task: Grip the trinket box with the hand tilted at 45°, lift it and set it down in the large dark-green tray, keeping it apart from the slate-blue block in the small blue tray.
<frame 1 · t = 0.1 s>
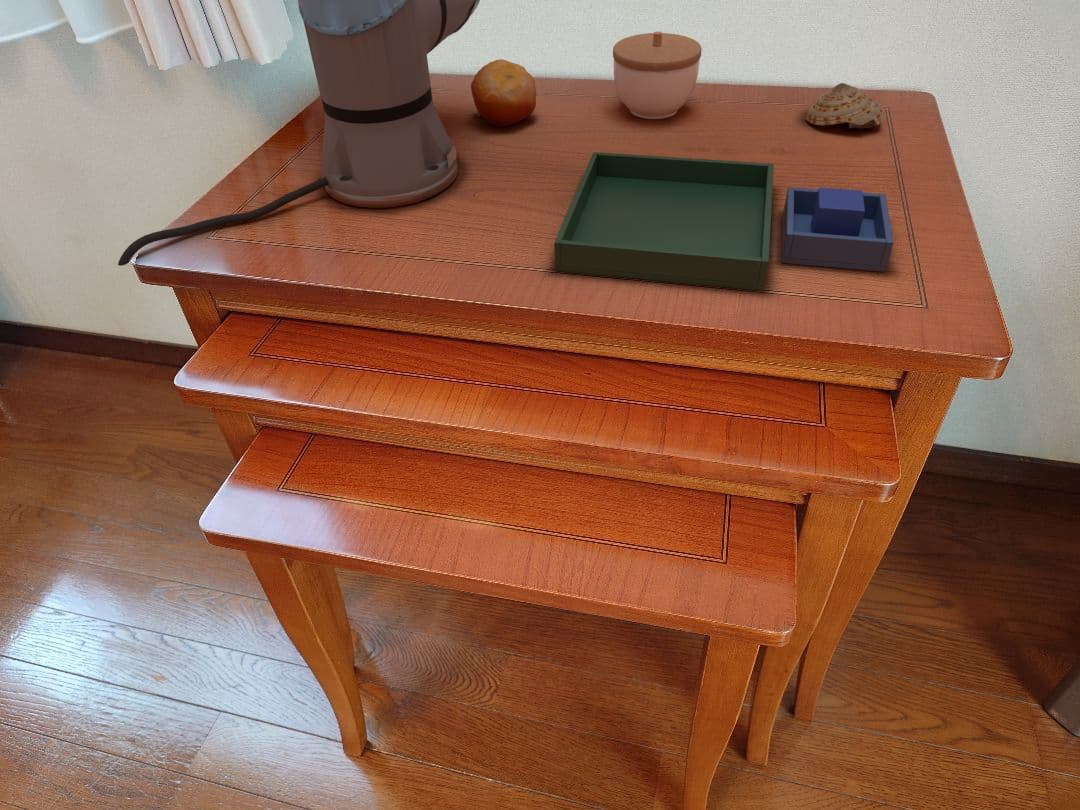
blue block: (832, 236, 77), point 1 cm above the table, touching blue tray
blue tray: (831, 242, 78), on the table
green tray: (668, 228, 81), on the table
trinket box: (653, 111, 103), on the table
fruit: (505, 122, 102), on the table
seashell: (843, 123, 98), on the table
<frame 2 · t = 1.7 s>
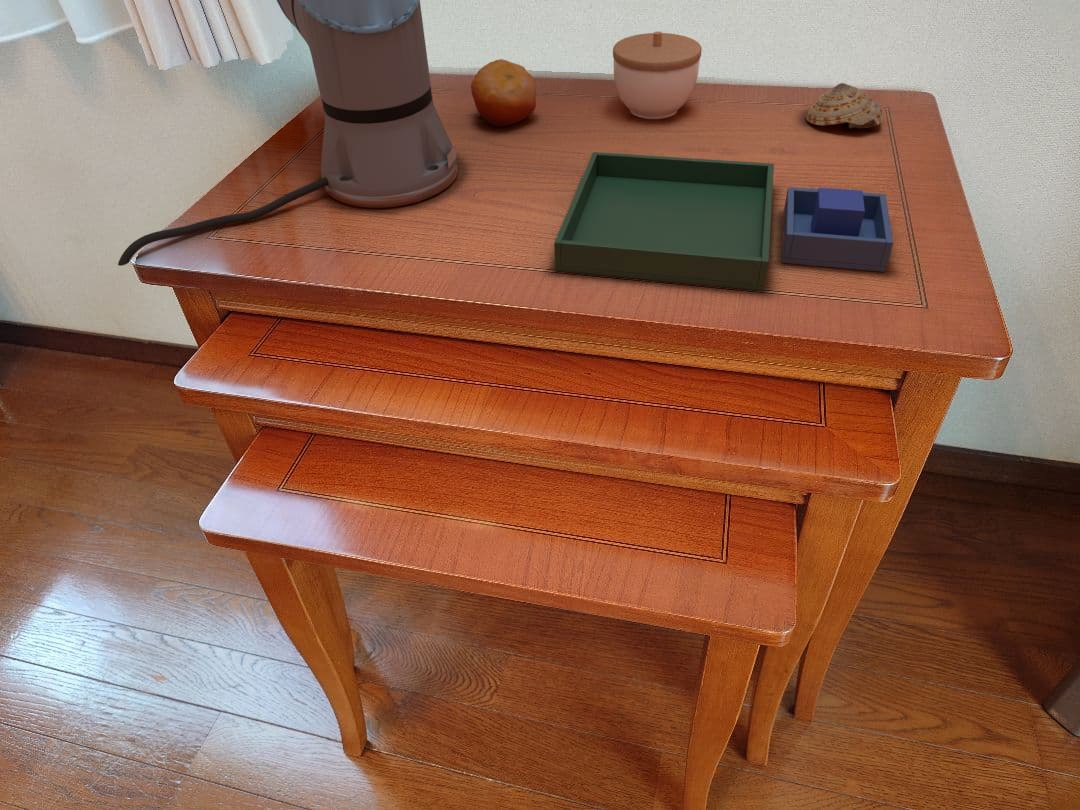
nothing on the table moved.
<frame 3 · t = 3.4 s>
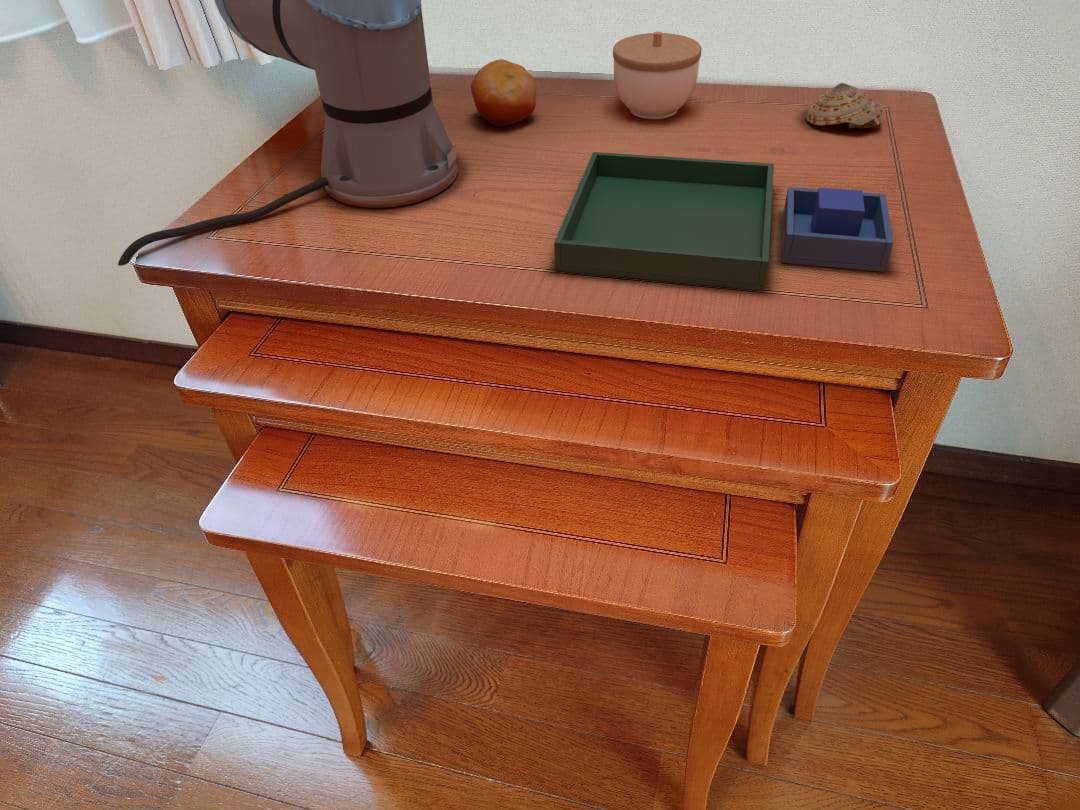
nothing on the table moved.
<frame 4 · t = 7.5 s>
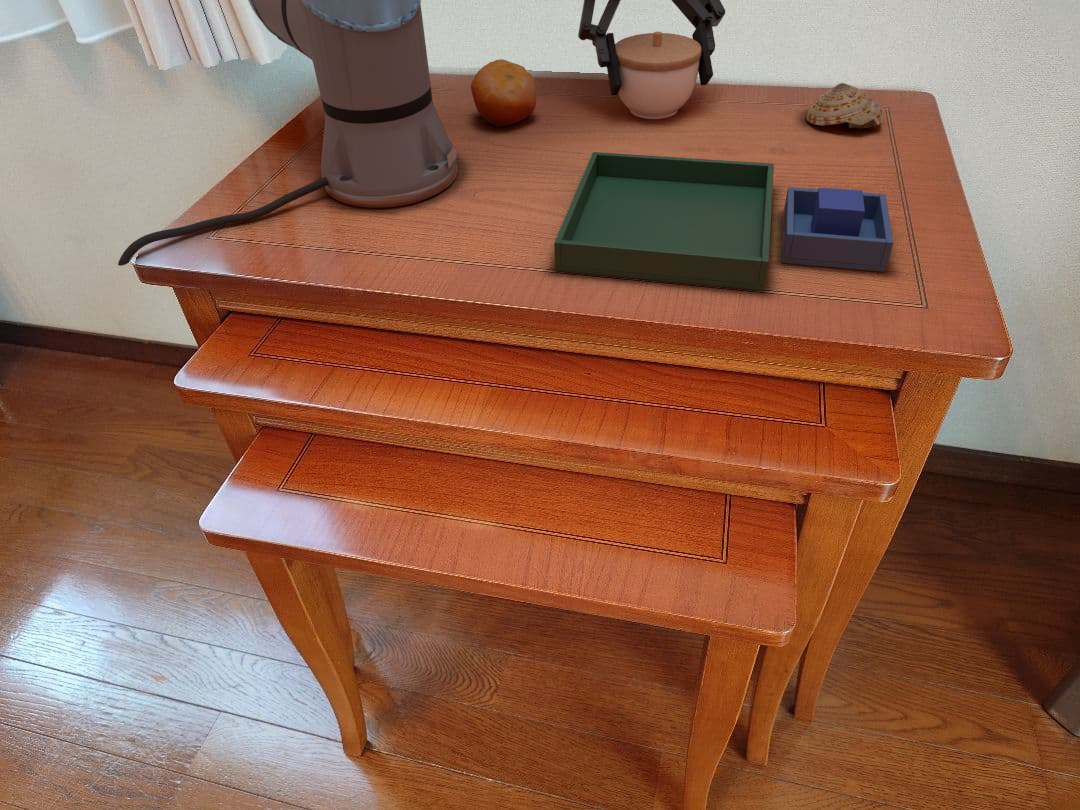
hand: (662, 85, 98), 4 cm above the table, tool tilted 45°, fingers closed on trinket box, 11 cm apart
trinket box: (653, 111, 103), on the table, touching gripper
everything else where it was.
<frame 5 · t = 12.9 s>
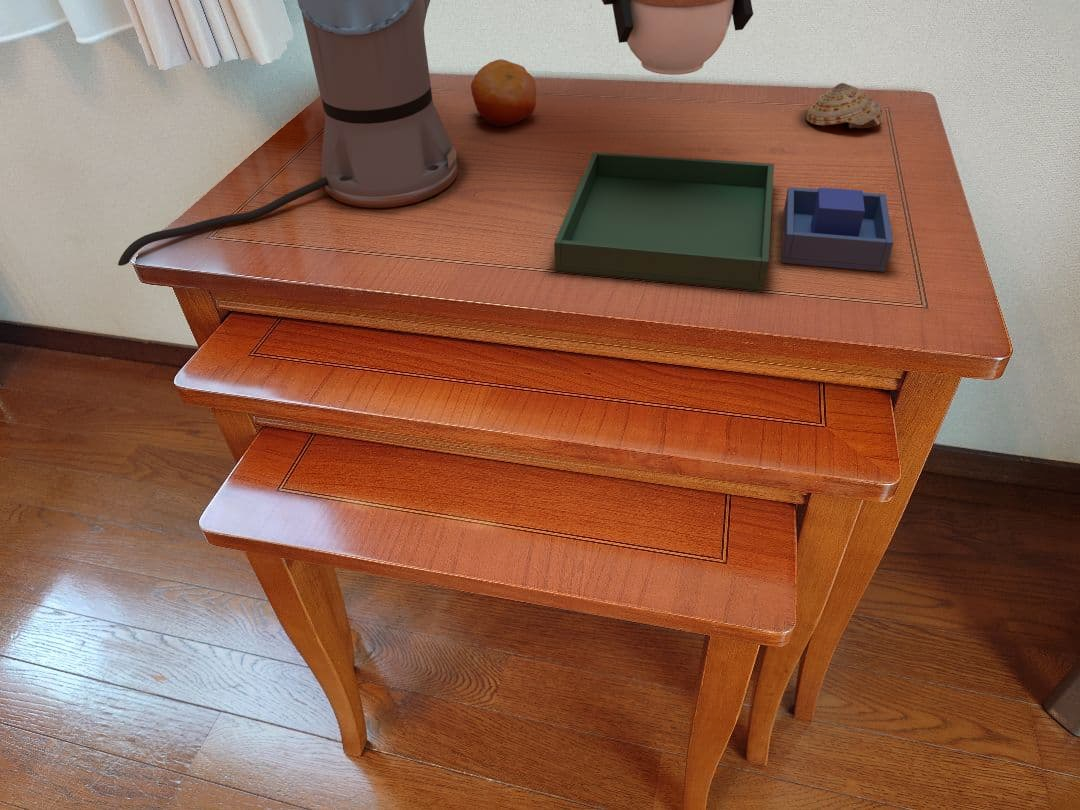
hand: (685, 28, 74), 17 cm above the table, tool tilted 45°, fingers closed on trinket box, 11 cm apart
trinket box: (672, 65, 79), point 13 cm above the table, touching gripper
everything else where it was.
when the fingers open (5 cm above the table, at t = 18.2 s): trinket box stays where it is, resting on green tray.
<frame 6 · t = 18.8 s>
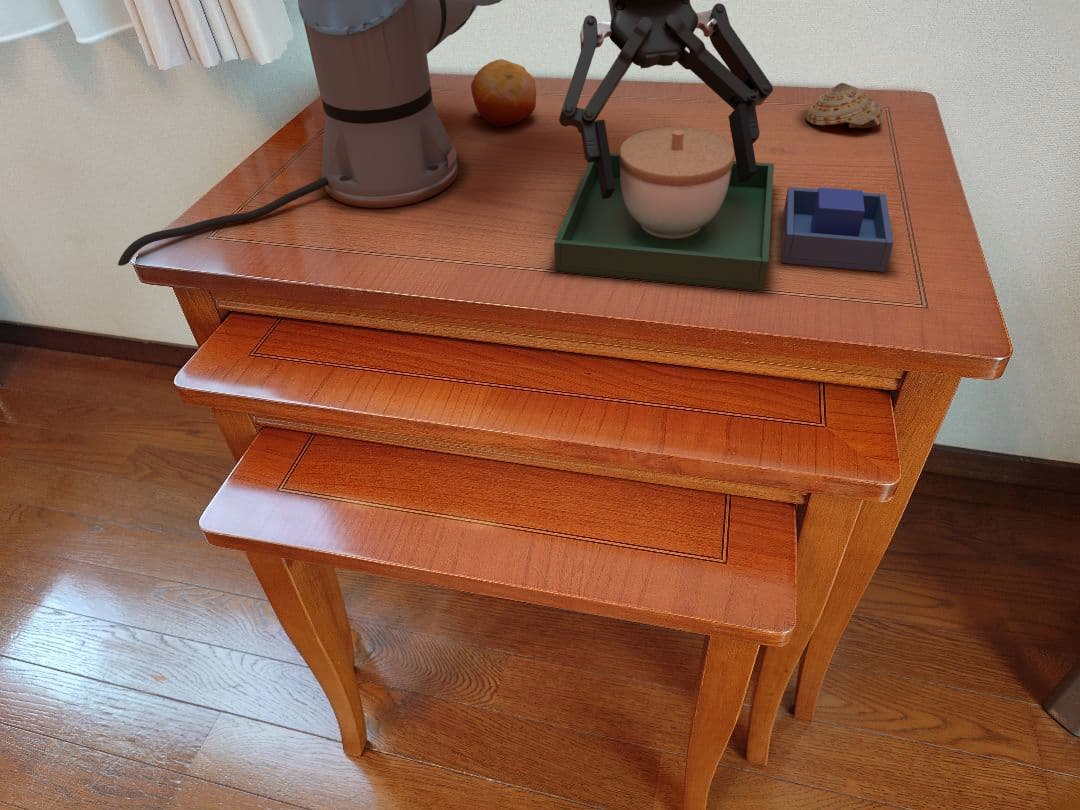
hand: (679, 185, 75), 6 cm above the table, tool tilted 45°, fingers open, 13 cm apart
trinket box: (670, 224, 80), resting on green tray
everything else where it was.
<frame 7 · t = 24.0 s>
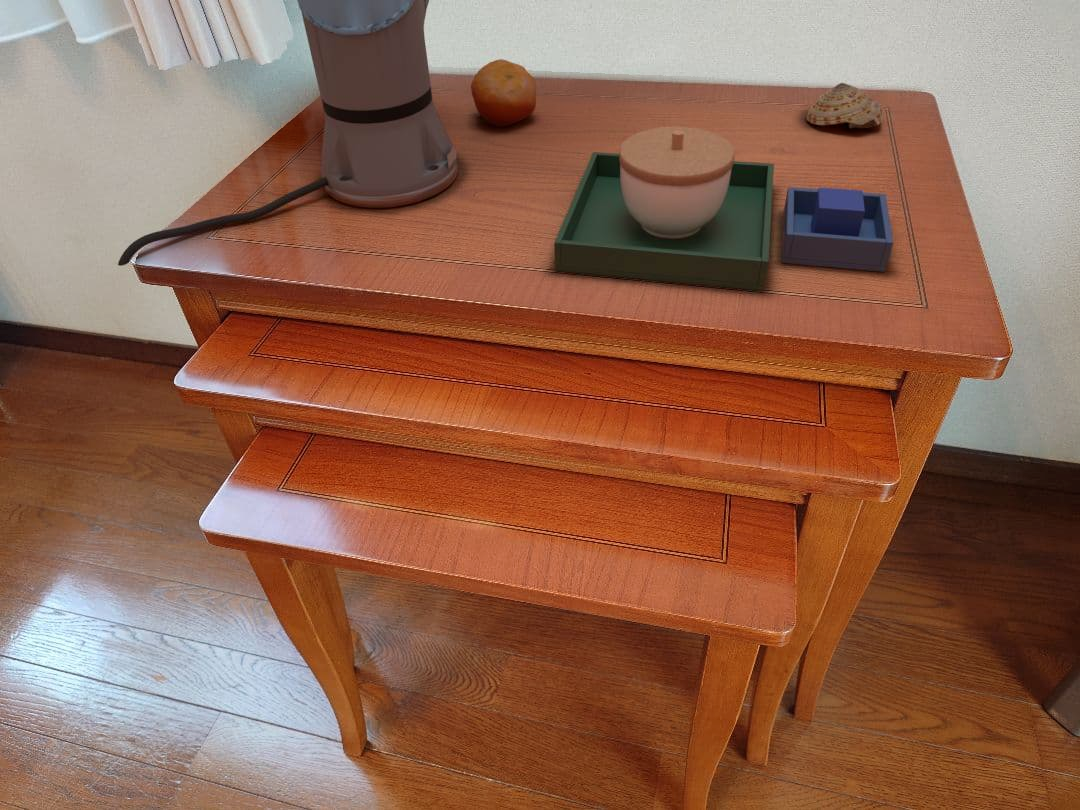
nothing on the table moved.
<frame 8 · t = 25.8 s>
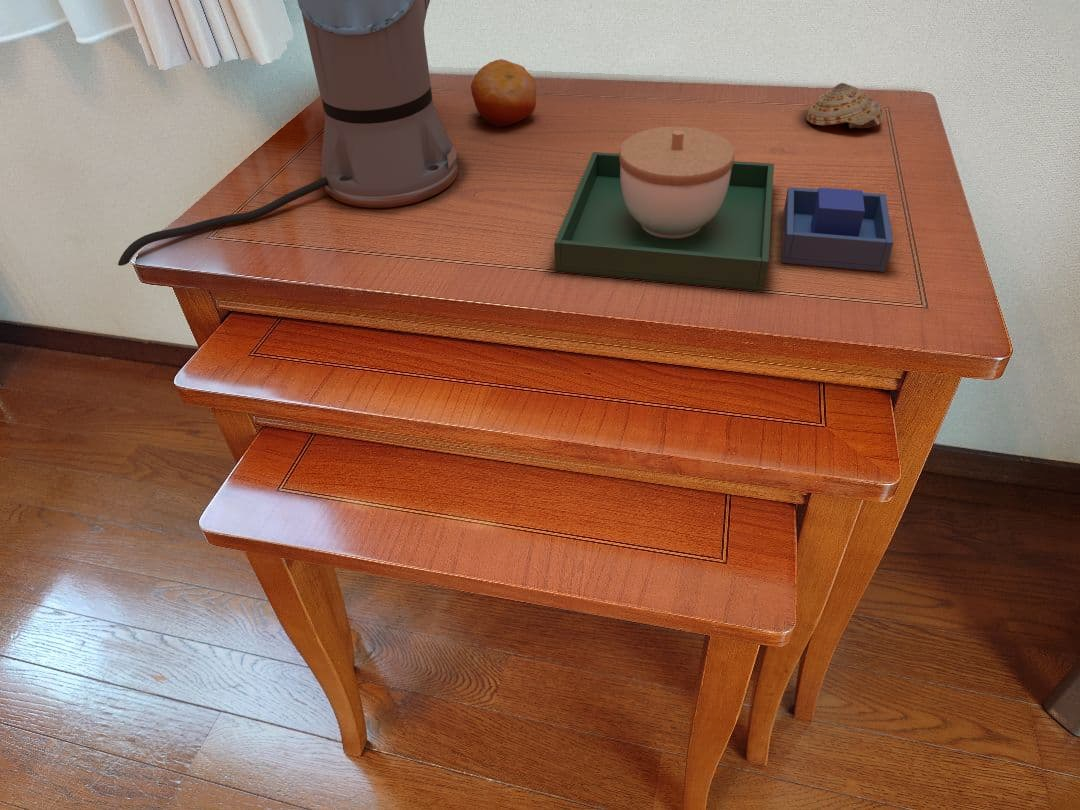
nothing on the table moved.
at the end: trinket box inside the target area in the green tray (0.2 cm from its centre), point 0.4 cm above the green tray's base; trinket box tilted 0°; blue block moved 0.0 cm from its start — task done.
